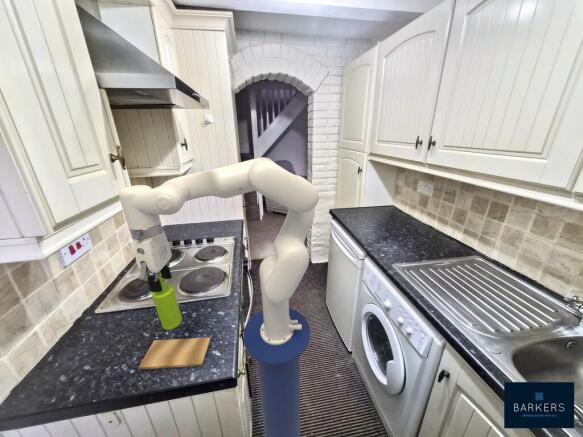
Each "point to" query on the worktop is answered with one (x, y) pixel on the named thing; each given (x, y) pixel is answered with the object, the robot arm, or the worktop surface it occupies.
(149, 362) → the chopping board
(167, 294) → the soap dispenser
